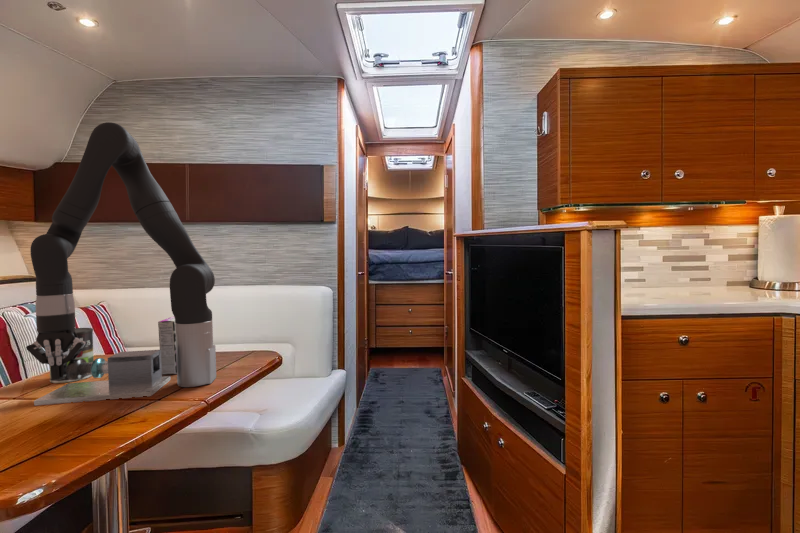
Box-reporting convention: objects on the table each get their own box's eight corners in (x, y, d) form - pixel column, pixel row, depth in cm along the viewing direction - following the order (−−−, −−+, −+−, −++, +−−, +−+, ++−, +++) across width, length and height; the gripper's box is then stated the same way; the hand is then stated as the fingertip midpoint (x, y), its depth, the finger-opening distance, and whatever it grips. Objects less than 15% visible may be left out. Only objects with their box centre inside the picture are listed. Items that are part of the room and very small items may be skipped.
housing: (170, 379, 111) (169, 346, 111) (150, 396, 98) (149, 358, 98) (68, 387, 106) (67, 352, 106) (34, 405, 93) (32, 365, 93)
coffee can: (101, 375, 117) (99, 329, 116) (57, 385, 108) (54, 335, 107) (86, 370, 122) (84, 326, 122) (44, 379, 113) (41, 332, 113)
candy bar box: (177, 364, 127) (175, 315, 126) (193, 364, 127) (191, 314, 127) (159, 375, 116) (157, 321, 115) (176, 374, 116) (174, 320, 116)
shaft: (155, 371, 107) (155, 352, 106) (147, 376, 102) (146, 357, 101) (79, 376, 103) (78, 357, 103) (66, 382, 98) (65, 362, 98)
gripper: (93, 309, 104) (96, 372, 105) (36, 311, 102) (39, 376, 102) (76, 313, 97) (79, 381, 97) (14, 315, 94) (17, 385, 95)
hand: (59, 378), depth 100 cm, fingers closed
